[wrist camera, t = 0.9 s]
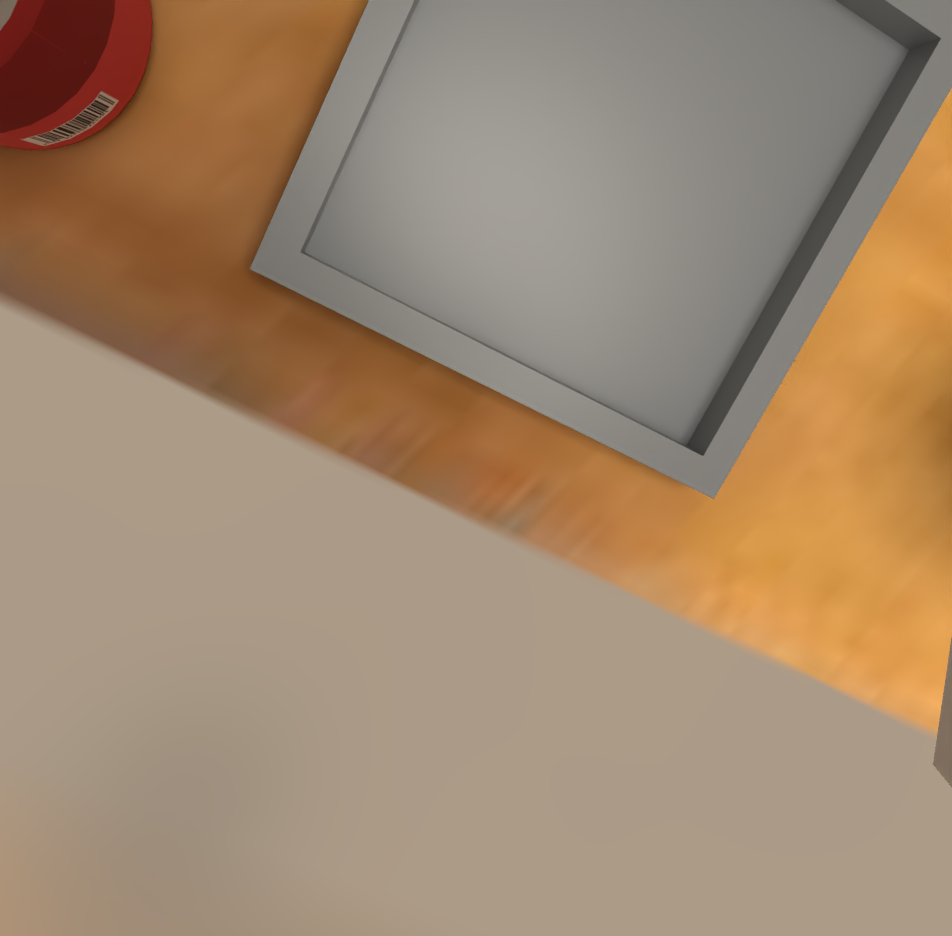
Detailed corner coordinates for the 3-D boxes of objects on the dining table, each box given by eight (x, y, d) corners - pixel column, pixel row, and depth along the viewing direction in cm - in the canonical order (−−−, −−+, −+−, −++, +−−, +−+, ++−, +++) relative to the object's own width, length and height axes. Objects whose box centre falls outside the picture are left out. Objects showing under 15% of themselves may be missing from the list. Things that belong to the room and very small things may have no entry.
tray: (259, 267, 29) (249, 269, 27) (496, -263, 26) (508, -314, 24) (689, 480, 33) (713, 498, 31) (940, 40, 30) (989, 22, 28)
